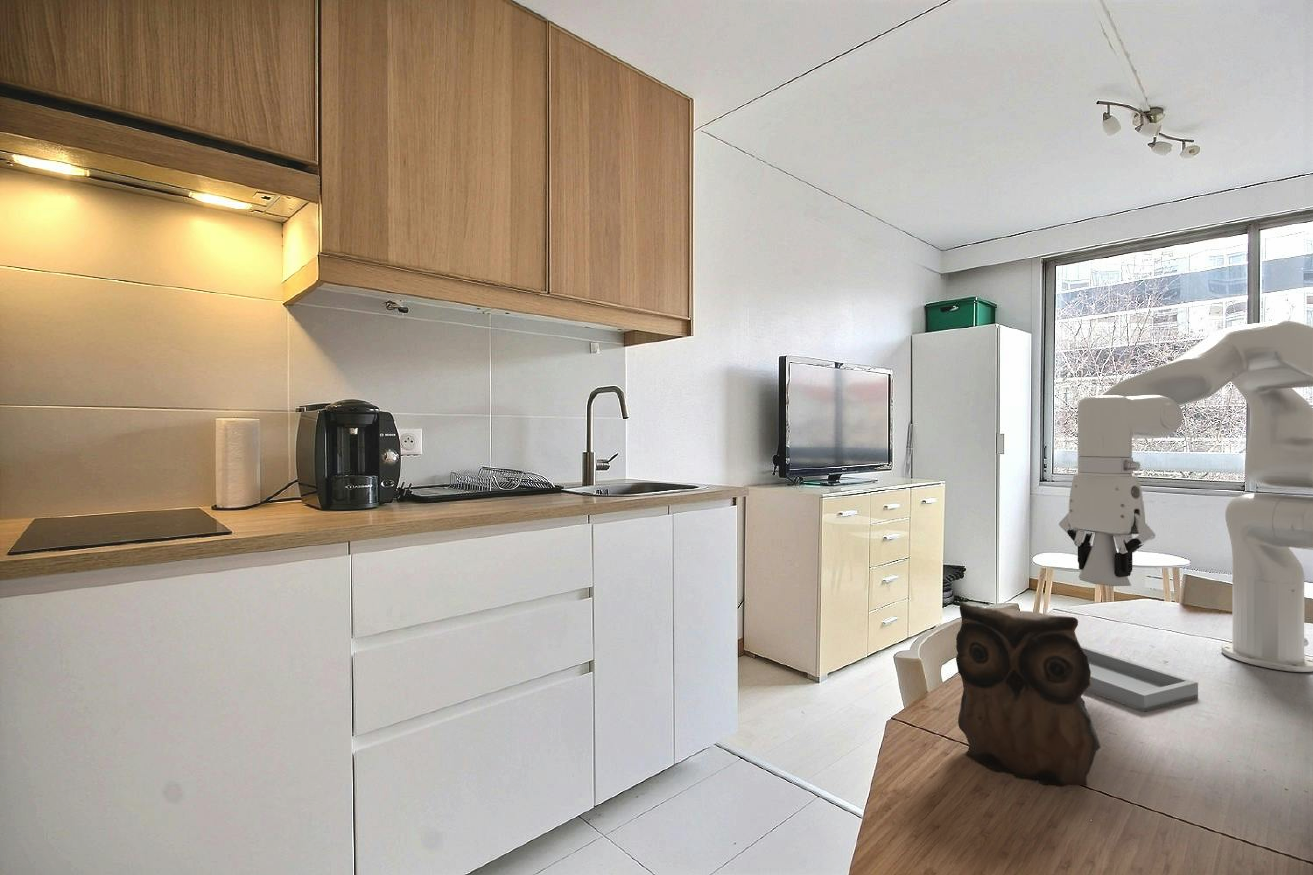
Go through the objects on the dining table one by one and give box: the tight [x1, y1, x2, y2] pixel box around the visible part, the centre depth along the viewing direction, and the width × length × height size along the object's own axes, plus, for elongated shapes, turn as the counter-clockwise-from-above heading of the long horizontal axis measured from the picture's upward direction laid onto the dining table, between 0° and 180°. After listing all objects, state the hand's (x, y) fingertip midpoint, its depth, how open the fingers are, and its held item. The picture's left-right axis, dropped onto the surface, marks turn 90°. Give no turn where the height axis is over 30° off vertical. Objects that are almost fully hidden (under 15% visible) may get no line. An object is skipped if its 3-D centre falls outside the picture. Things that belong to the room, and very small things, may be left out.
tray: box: [1080, 645, 1199, 713], centre depth 102 cm, size 14×20×2 cm
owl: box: [955, 601, 1101, 787], centre depth 75 cm, size 13×13×20 cm
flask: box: [1078, 532, 1132, 587], centre depth 102 cm, size 7×7×10 cm
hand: (1104, 571), depth 102 cm, fingers closed on flask, 5 cm apart
